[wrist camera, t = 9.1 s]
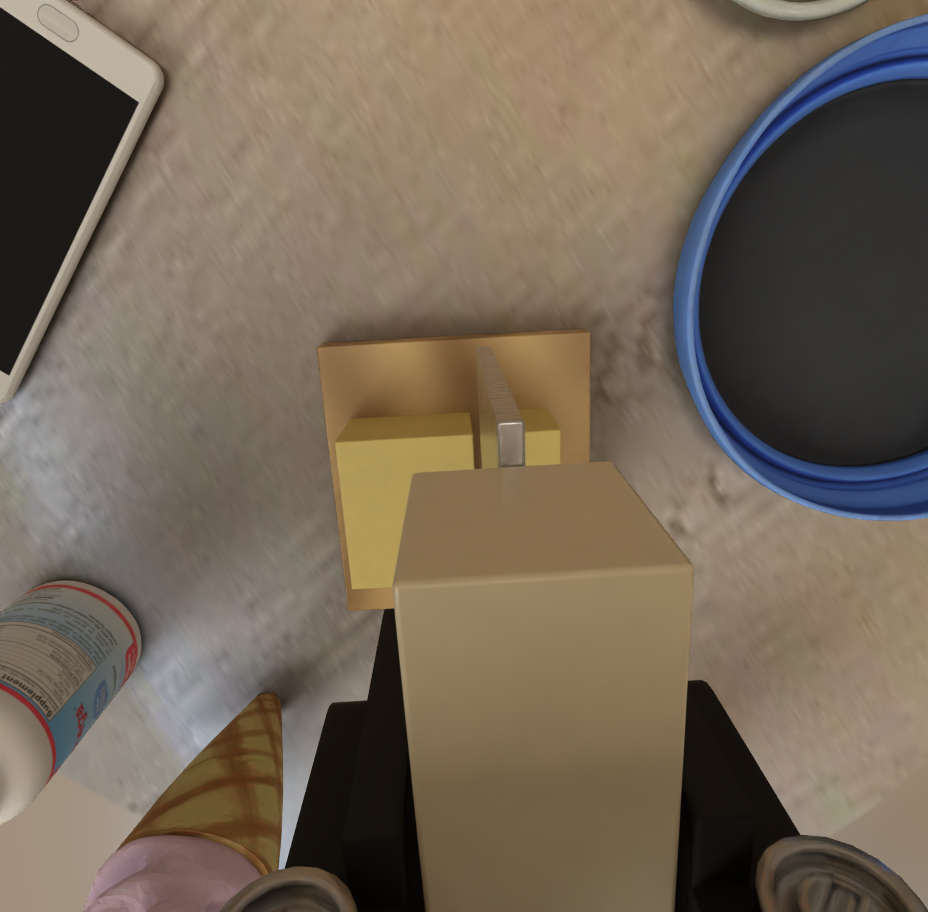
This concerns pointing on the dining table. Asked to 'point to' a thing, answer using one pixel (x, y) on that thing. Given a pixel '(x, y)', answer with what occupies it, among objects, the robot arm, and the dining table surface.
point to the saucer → (798, 8)
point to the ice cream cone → (205, 825)
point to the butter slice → (541, 437)
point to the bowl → (820, 286)
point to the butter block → (391, 481)
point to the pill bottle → (56, 679)
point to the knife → (541, 680)
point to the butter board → (452, 395)
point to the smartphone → (58, 156)
